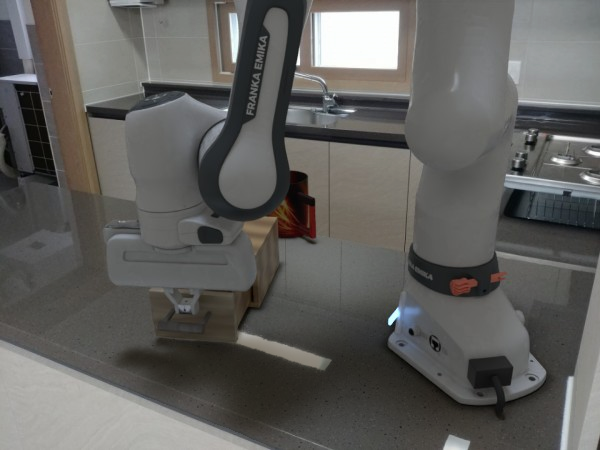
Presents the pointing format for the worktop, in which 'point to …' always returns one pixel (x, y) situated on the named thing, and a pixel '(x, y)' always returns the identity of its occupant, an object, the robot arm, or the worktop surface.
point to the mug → (296, 209)
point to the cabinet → (263, 254)
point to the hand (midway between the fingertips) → (187, 312)
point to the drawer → (201, 315)
